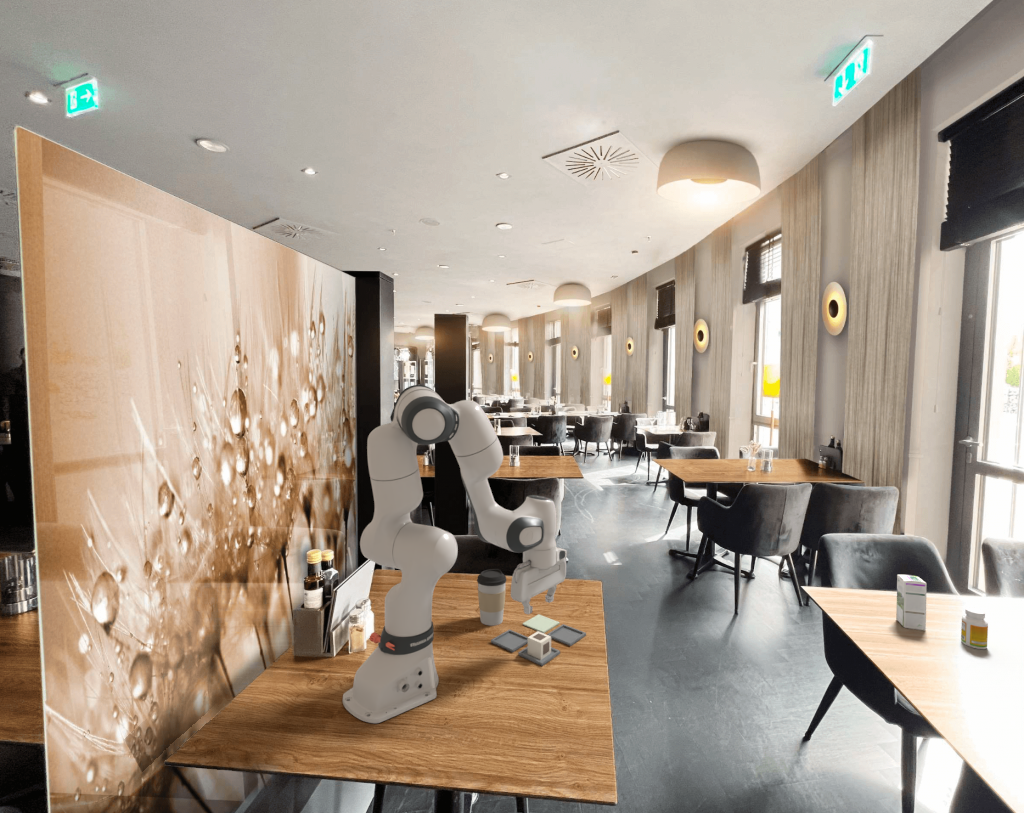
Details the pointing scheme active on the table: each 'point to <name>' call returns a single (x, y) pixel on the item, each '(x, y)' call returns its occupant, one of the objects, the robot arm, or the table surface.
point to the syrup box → (911, 602)
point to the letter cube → (539, 645)
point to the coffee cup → (491, 596)
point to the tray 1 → (510, 640)
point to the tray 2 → (542, 662)
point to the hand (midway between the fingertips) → (539, 607)
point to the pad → (541, 623)
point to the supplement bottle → (974, 629)
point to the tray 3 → (567, 635)
